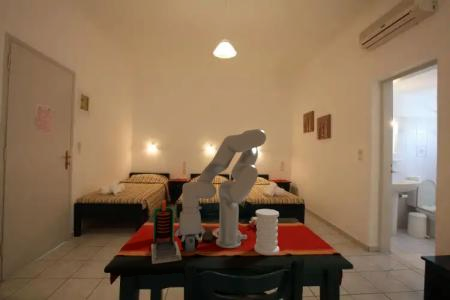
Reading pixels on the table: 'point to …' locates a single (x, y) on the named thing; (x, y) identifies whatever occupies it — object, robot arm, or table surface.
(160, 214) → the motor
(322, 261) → the table surface
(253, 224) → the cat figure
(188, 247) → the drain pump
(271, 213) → the decorative container
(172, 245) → the mounting plate
